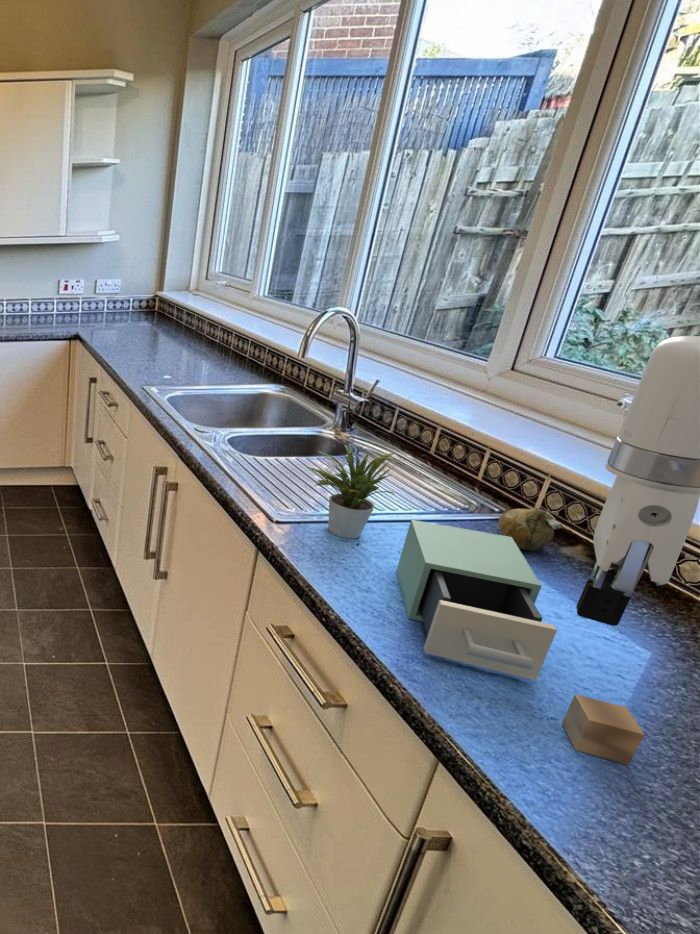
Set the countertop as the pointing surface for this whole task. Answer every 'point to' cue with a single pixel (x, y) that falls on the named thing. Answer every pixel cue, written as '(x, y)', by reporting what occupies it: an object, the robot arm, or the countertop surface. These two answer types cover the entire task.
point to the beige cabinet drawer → (484, 624)
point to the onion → (528, 527)
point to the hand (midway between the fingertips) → (595, 617)
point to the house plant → (352, 494)
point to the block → (602, 729)
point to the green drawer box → (459, 560)
